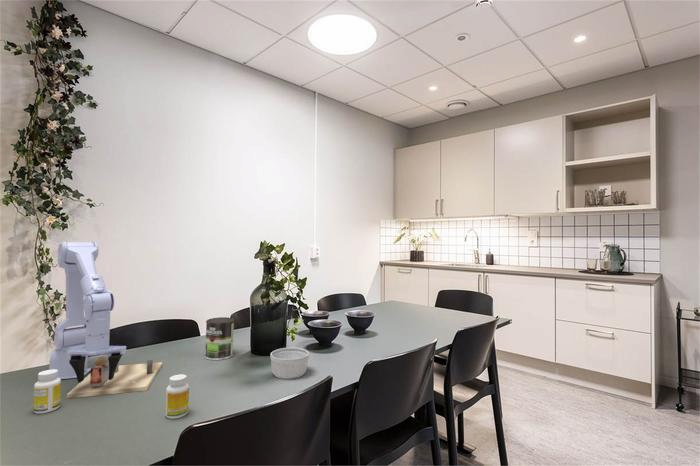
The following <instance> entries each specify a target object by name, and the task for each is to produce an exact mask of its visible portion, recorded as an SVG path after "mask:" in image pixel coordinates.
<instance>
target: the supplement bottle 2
mask: <svg viewBox="0 0 700 466" xmlns="http://www.w3.org/2000/svg"><path fill="white" fill-rule="evenodd" d="M168 383H169V385H168V386H167V387H166V388H165V389H166V390H165V406H164V407H165V410H164V412H165V413H164V414H165V418H167V419H170V420H171V419H173V420H174V419H179V418H180V419H181V418H183V417H185V416H186V415H187V414H188V412H189V393H190V386H189V384H188V383H187V375H186V374H183V373H181V374H174V375H172V376H170V377H169V381H168Z"/></svg>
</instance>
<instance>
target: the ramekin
mask: <svg viewBox="0 0 700 466" xmlns="http://www.w3.org/2000/svg"><path fill="white" fill-rule="evenodd" d="M269 355H270V357H269V358H270V362H271V363H270V364H271V365H270V366H271V372H272V374H273V375H274V376H275V378H278V379H283V380H293V379H298V378H301V377H303V376H304V375H305V373H306V372H307V370H308V369H307V368H308V362H309V359H310V353H309V350H307V349H304V348H301V347H282V348H278V349H275V350H273V351H272V352H270V354H269Z"/></svg>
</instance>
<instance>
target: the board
mask: <svg viewBox="0 0 700 466" xmlns="http://www.w3.org/2000/svg"><path fill="white" fill-rule="evenodd" d="M107 360H108V359H107V358H106V357H104V356H100V357H97V359H95V362H94V364H95V366H102V372H103V371H104V367H105V366H108V365H109V363H108V364H107V362H108V361H107ZM162 367H163V361H159V362H154V361H153V359H150V360H147V361H146V363H136V364H134V363H133V364H125V365H124V364H122V365H121V364H120V365H119V370H118V371H117V372H115V373H114V378H113V379H112V380H109V378H108V379H107V380H106V381H105V382H104V383H103V384H102V385H101V386H97V387H91V384H90V377H91V372H89V374H88V375H87V376H86V377H84V380H83V381H82V382H81V383H78V384H76V386H74V387H73V388H72V389H71V390H70V391H68V393H67V394H66V399H77V398H85V397H96V396H105V395H116V394H124V393H125V394H126V393H136V392H145V391H146V392H147V391H148V389H149V388H150V386H151V385H152V383H153V382H154V379H155V378H156V377H157V374H158V373H159V372H160V370H161V369H162Z"/></svg>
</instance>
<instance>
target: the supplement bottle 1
mask: <svg viewBox="0 0 700 466" xmlns="http://www.w3.org/2000/svg"><path fill="white" fill-rule="evenodd" d="M57 376H58V370H56V369H52V370H49V369H47V370H42V371H39V372H38V374H37V380H38V381H36V382H35V383H34V385H33V410H32V411H33V413H35V414H37V415H38V414H47V413H50V412H53V411H56V410H57V409H59V408H60V406H61V396H62V395H61V393H62V392H61V391H62V390H61V389H62V379H60V378H57Z"/></svg>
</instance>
